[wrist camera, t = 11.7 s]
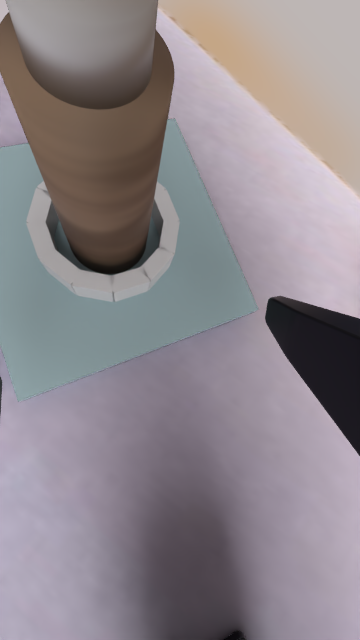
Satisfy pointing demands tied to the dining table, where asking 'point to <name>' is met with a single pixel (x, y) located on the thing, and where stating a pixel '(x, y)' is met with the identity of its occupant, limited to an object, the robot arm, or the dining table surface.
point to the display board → (108, 277)
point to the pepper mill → (92, 116)
